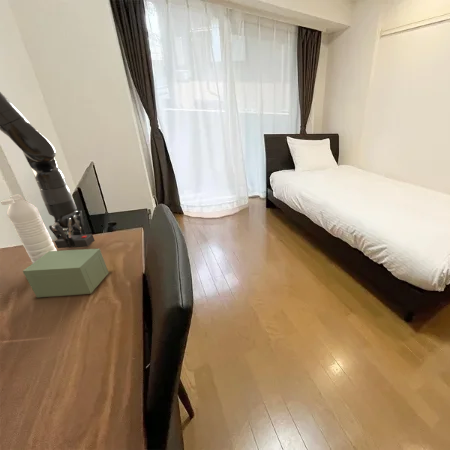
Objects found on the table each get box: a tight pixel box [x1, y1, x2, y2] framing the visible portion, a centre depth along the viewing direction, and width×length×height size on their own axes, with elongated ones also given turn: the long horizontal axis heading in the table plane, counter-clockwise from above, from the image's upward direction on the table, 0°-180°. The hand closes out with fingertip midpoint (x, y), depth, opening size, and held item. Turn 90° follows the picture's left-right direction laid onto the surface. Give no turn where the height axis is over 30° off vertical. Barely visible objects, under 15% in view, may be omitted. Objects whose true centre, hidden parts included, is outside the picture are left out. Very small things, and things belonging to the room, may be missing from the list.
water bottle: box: [0, 193, 58, 264], centre depth 82 cm, size 9×6×25 cm
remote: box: [54, 233, 95, 249], centre depth 98 cm, size 10×4×3 cm, turn 97°
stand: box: [22, 248, 110, 298], centre depth 79 cm, size 14×10×9 cm
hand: (75, 243), depth 99 cm, fingers closed on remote, 4 cm apart
